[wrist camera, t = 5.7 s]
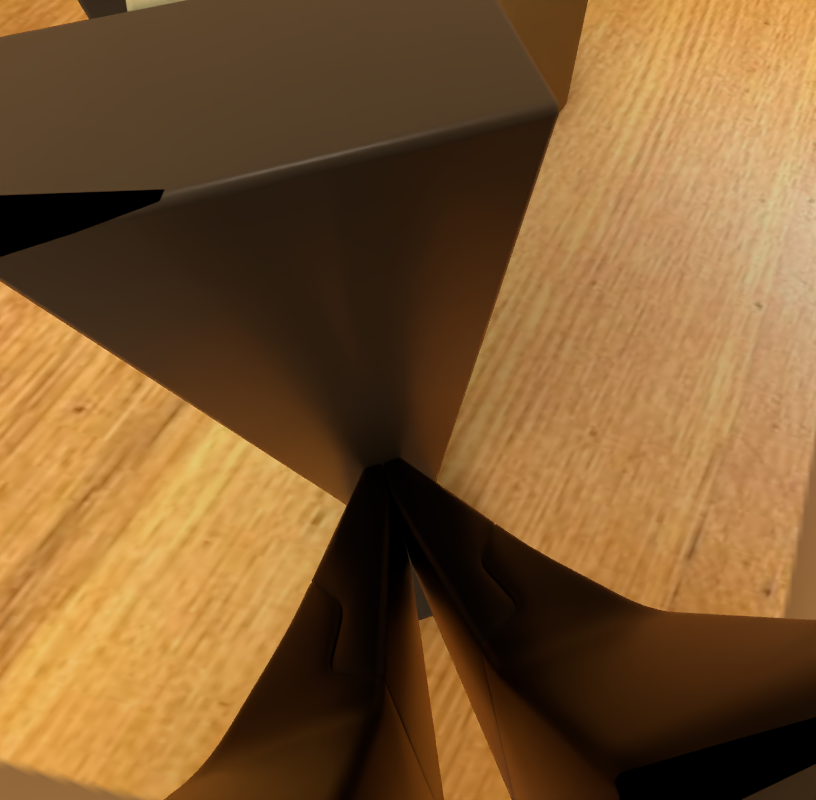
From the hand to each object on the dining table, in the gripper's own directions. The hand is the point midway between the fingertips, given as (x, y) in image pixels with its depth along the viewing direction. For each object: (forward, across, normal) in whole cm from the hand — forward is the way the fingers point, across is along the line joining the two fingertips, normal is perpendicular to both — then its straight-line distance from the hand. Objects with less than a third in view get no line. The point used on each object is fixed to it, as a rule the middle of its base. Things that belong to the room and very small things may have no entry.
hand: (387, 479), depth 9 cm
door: (+7, 0, 0) cm, 7 cm away
